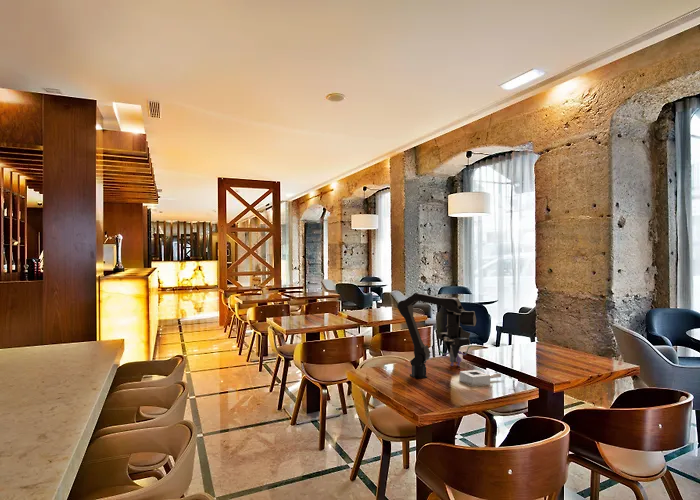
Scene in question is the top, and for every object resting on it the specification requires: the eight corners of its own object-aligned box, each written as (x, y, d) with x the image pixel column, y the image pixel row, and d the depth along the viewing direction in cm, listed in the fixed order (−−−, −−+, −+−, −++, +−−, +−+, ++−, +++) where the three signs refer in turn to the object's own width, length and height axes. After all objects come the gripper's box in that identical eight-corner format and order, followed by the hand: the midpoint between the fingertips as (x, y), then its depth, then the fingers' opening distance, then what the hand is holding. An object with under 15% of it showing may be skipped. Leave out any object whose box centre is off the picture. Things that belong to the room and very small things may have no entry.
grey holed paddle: (472, 386, 185) (472, 377, 185) (459, 380, 194) (459, 371, 195) (507, 382, 192) (507, 373, 192) (493, 377, 201) (493, 368, 201)
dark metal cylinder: (452, 362, 189) (452, 345, 190) (448, 360, 193) (448, 344, 193) (458, 361, 191) (458, 345, 191) (454, 360, 194) (454, 343, 194)
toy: (470, 365, 224) (471, 338, 224) (472, 367, 218) (473, 340, 218) (437, 363, 225) (437, 337, 226) (438, 366, 220) (438, 339, 220)
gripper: (479, 326, 186) (479, 360, 186) (456, 320, 204) (456, 351, 203) (459, 327, 182) (459, 361, 182) (437, 321, 200) (437, 352, 199)
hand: (453, 356), depth 192 cm, fingers closed on dark metal cylinder, 3 cm apart
